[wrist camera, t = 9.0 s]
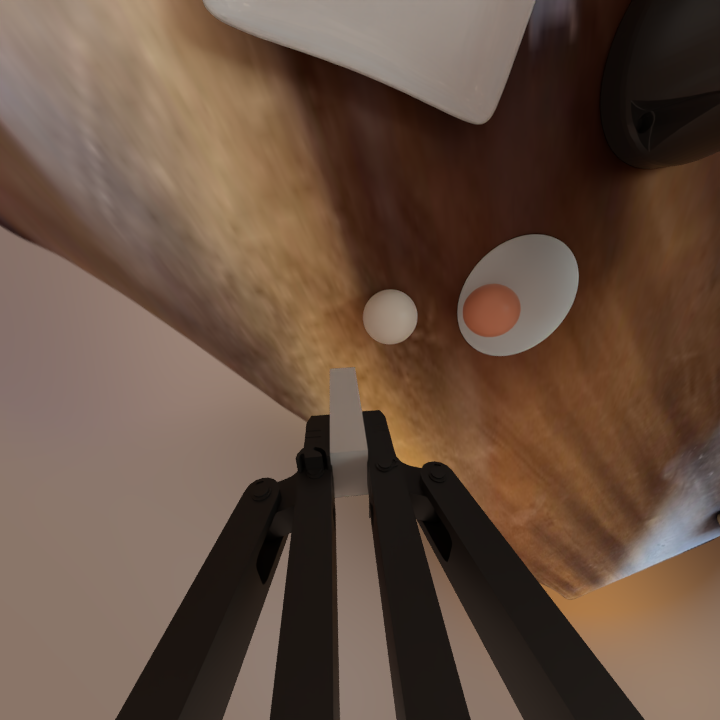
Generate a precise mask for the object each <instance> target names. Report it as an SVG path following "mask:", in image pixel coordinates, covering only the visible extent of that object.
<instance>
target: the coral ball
mask: <svg viewBox="0 0 720 720" xmlns="http://www.w3.org/2000/svg"><path fill="white" fill-rule="evenodd" d="M520 312H521V305H520V301H519V298H518V296H517V295H516V293H515V292H514V291H513V290H511V289H510V288H509V287H507V286H504V285H501V284H487V285H483V286H481V287H479V288H477V289H475V290H474V291H473V292H472V293H471V294H470V295H469V296H468V297H467V299H466V300H465V303H464V306H463V319H464V322H465V324H466V326H467V327H468V328H469V329H470V330H471V331H472V332H474V333H475V334H477V335H480V336H483V337H496V336H500V335H502V334H505V333H506V332H508V331H509V330H510V329H512V328H513V327H514V325H515V324H516V323H517V321H518V319H519V316H520Z"/></svg>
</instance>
